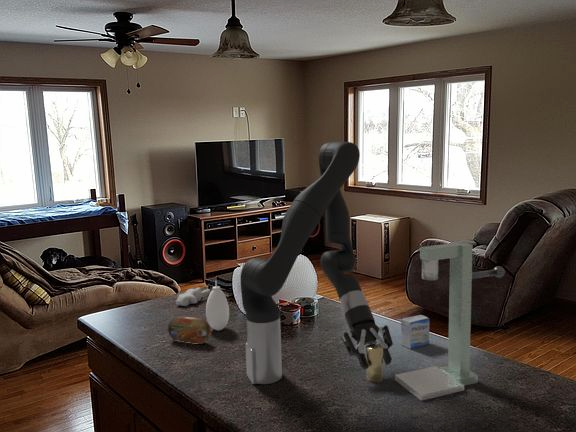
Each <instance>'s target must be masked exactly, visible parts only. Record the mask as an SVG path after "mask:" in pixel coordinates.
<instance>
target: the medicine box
mask: <svg viewBox="0 0 576 432" xmlns="http://www.w3.org/2000/svg"><path fill="white" fill-rule="evenodd" d="M429 344H430V318H429V317H427V316H425V315H424V314H423V315H422V314H417V315H413V316H409V317H404V318H401V319H400V345H401V346H403V347H404V348H406V349H409V350H413V349H417V348H420V347H424V346H427V345H429Z"/></svg>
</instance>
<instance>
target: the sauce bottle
mask: <svg viewBox="0 0 576 432" xmlns="http://www.w3.org/2000/svg"><path fill="white" fill-rule="evenodd" d="M214 281H215V286H212V290H210V291H211V293H209V295H208V297H207V301H206V306H205V316H206V322H207V323H208V324H209V326H210V328H212V329H213V330H215V331H221V330H223V329H224V328H225V327H226V326H227V324H228V322H229V320H230V307H229V302H228V299H227V297H226V294H225V293H224V291H222V289H221V286H218V284H217V283H218V282H217V280H214Z"/></svg>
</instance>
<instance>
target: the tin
mask: <svg viewBox="0 0 576 432" xmlns="http://www.w3.org/2000/svg"><path fill="white" fill-rule="evenodd" d="M167 327H168V329H167V330H168V335H169V336H170V338H171V339H172V340H173V341H174V342H176V341H175V340H179V341H184V342H191V343H198V344H201V345H203V344H204V343H206V342H207V341H209V339H210V337H211V326H210V325H209V323H208V321H207V320H206V319H203V318H200V317H190V316H183V315H181V316H177V317H175V318H173V319H171V320H170V321H169V324H168V326H167Z"/></svg>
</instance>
